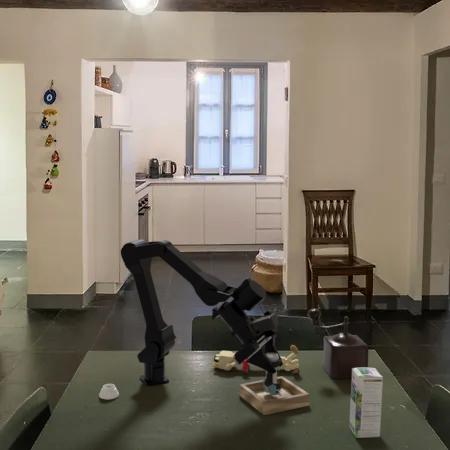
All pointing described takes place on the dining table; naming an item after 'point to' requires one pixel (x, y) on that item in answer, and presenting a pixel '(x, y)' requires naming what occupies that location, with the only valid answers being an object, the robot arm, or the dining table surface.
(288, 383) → the oak tray
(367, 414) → the syrup box
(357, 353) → the manual coffee grinder
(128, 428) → the dining table surface
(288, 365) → the cat figure
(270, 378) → the push button
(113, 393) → the small white bowl
